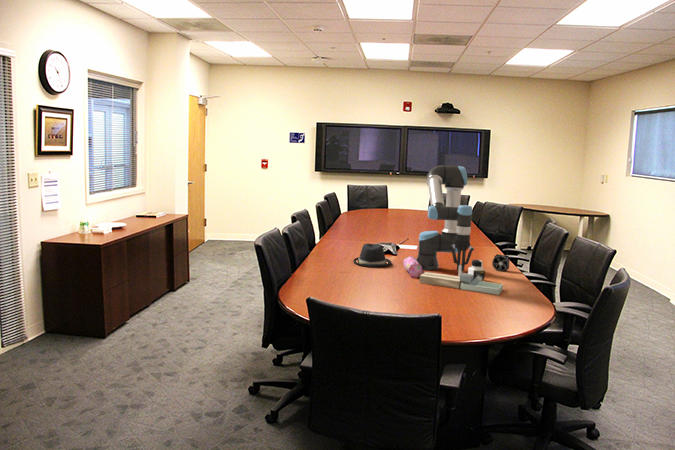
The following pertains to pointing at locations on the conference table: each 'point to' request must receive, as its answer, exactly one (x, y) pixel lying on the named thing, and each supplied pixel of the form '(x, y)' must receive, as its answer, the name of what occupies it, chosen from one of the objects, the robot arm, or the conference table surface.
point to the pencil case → (413, 267)
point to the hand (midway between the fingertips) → (459, 276)
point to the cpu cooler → (501, 262)
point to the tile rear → (466, 277)
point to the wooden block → (440, 280)
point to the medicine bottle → (477, 269)
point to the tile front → (476, 281)
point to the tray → (483, 287)
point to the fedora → (372, 256)
